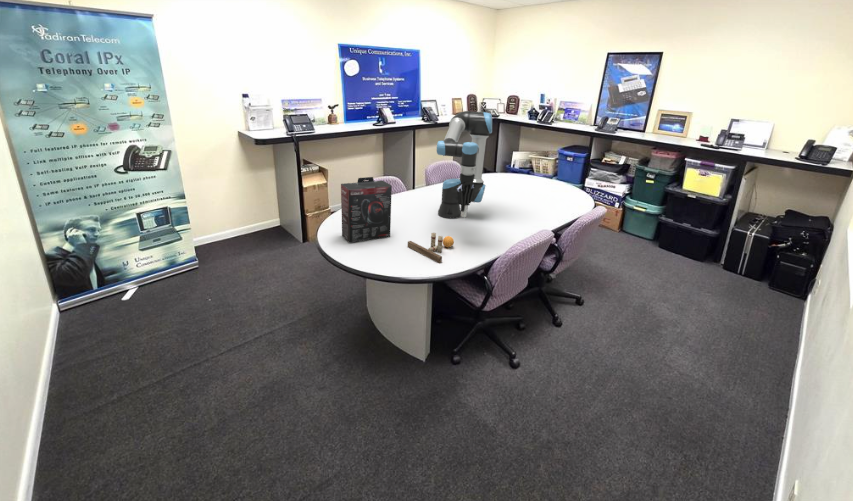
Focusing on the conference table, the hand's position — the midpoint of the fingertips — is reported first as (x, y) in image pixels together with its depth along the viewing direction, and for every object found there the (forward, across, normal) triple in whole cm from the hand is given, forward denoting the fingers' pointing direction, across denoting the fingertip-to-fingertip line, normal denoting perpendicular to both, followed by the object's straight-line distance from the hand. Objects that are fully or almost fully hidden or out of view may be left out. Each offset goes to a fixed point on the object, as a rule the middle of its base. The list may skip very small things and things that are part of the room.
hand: (463, 216), depth 223 cm
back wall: (+15, -28, 0) cm, 31 cm away
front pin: (+14, -16, 0) cm, 21 cm away
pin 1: (+15, -19, +2) cm, 24 cm away
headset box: (+15, -38, +36) cm, 55 cm away
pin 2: (+15, -19, -3) cm, 24 cm away
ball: (+12, -11, -1) cm, 16 cm away
